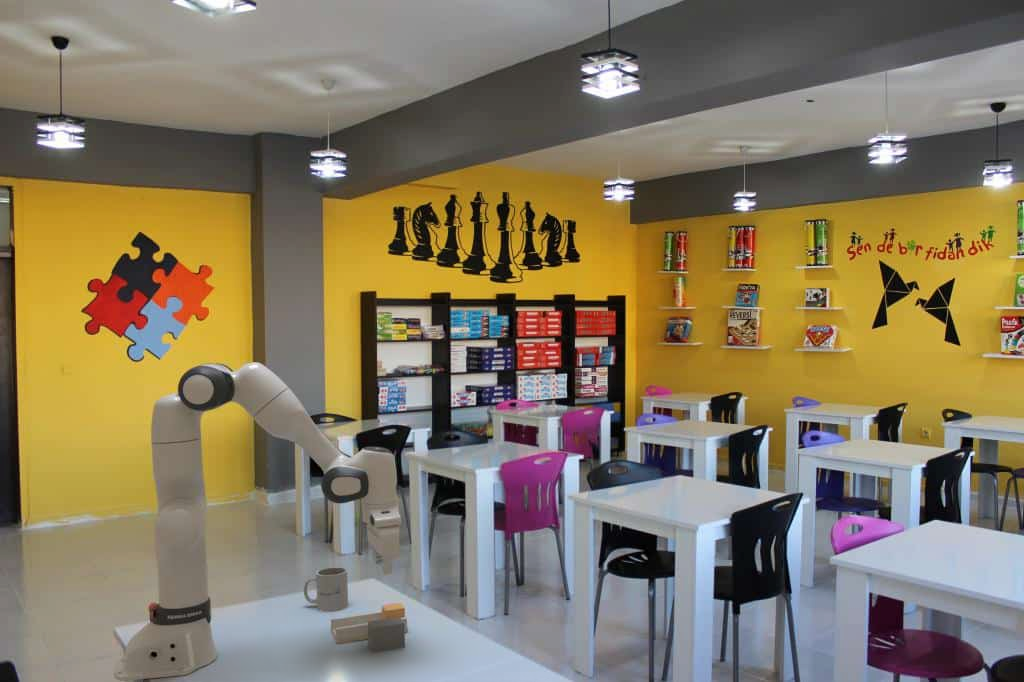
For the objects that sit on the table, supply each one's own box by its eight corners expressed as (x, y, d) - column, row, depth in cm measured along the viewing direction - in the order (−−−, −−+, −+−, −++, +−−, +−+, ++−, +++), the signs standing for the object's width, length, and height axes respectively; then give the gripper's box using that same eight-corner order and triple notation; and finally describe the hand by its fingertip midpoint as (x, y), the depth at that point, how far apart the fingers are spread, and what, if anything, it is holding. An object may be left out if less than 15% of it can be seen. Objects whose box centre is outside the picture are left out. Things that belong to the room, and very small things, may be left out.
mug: (353, 602, 234) (351, 567, 234) (340, 612, 226) (338, 576, 226) (314, 600, 237) (313, 566, 237) (299, 610, 229) (298, 574, 229)
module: (372, 653, 196) (371, 628, 196) (368, 645, 200) (367, 621, 200) (405, 647, 199) (404, 623, 199) (400, 640, 203) (399, 616, 203)
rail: (336, 643, 202) (336, 621, 202) (330, 630, 211) (330, 609, 211) (407, 632, 208) (407, 611, 208) (398, 620, 218) (398, 599, 218)
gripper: (359, 506, 208) (362, 560, 208) (376, 522, 189) (379, 581, 189) (384, 503, 210) (386, 556, 211) (402, 518, 191) (405, 577, 191)
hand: (383, 568), depth 200 cm, fingers open, 8 cm apart
